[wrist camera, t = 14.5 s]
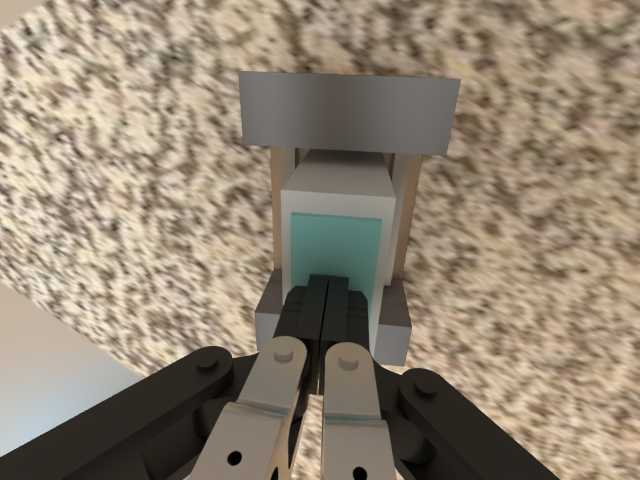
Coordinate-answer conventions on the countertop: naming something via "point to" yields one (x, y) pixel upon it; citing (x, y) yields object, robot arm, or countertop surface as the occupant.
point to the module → (339, 223)
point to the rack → (351, 135)
